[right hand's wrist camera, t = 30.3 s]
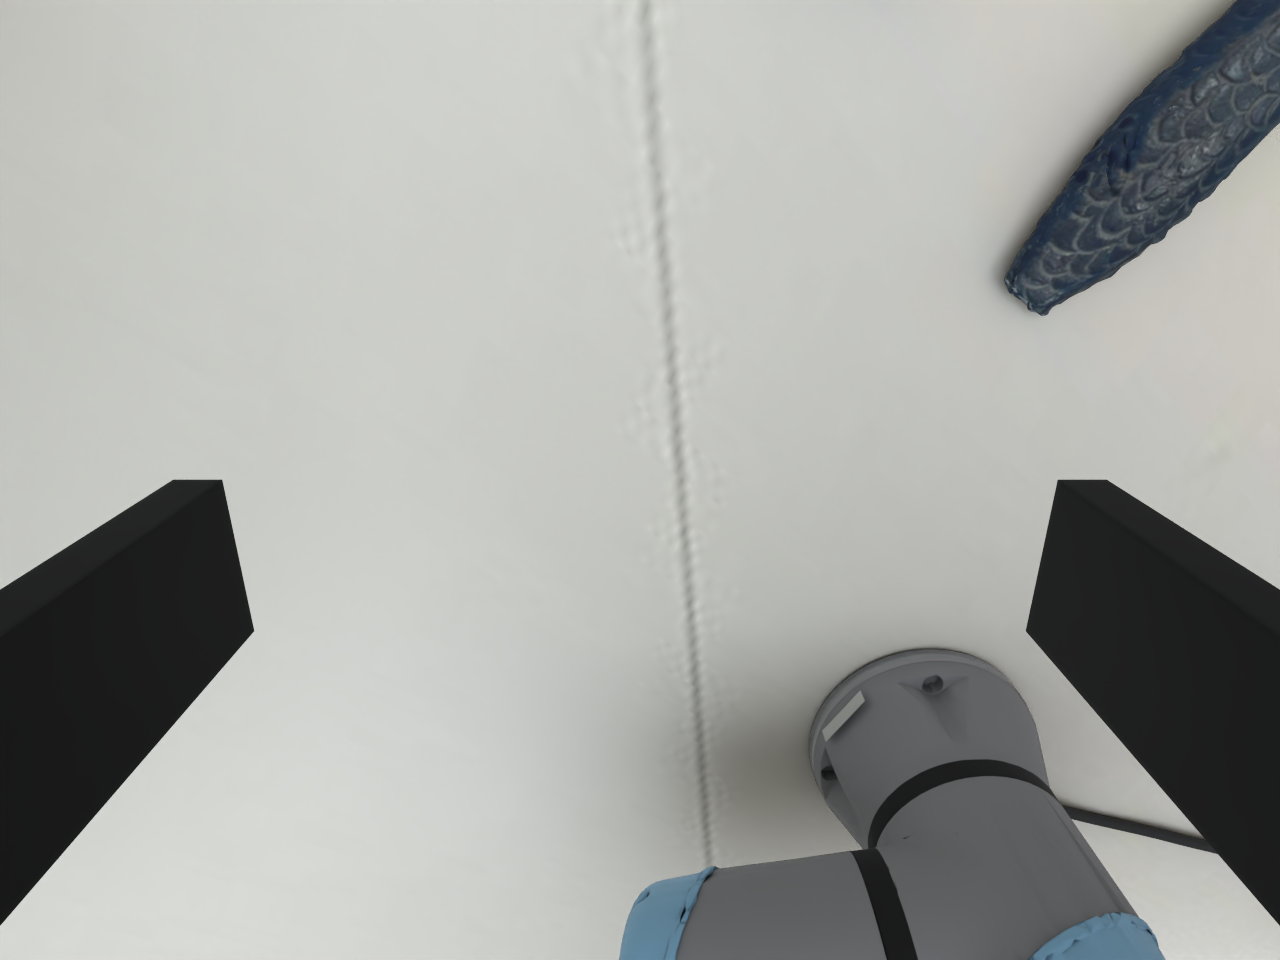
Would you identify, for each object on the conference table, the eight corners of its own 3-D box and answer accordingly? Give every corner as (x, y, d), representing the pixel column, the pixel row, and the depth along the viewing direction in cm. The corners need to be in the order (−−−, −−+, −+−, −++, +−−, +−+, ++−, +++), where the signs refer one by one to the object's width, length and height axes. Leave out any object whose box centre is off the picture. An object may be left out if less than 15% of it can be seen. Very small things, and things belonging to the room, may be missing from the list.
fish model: (1380, -1, 38) (1483, -27, 33) (1055, 338, 44) (1103, 356, 39) (1296, -98, 36) (1390, -140, 32) (973, 265, 43) (1012, 275, 38)
